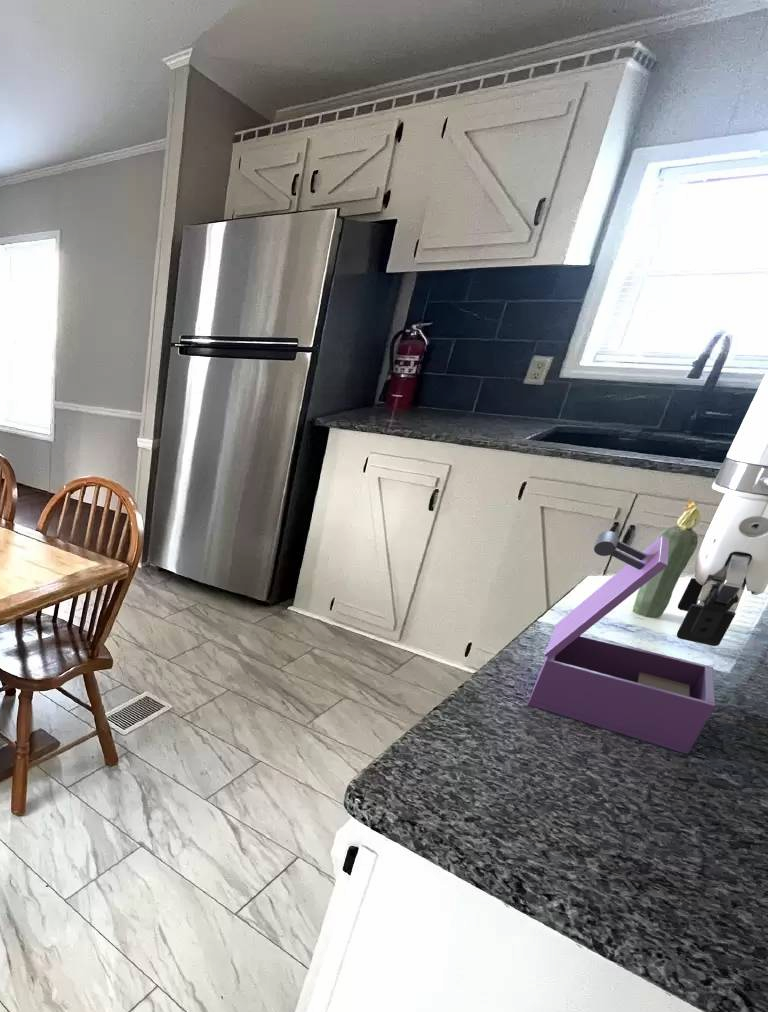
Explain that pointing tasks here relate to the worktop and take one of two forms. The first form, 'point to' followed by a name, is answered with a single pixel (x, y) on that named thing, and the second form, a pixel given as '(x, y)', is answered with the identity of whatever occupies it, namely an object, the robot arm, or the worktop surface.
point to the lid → (610, 587)
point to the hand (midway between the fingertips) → (696, 626)
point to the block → (663, 684)
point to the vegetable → (669, 565)
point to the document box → (626, 692)
